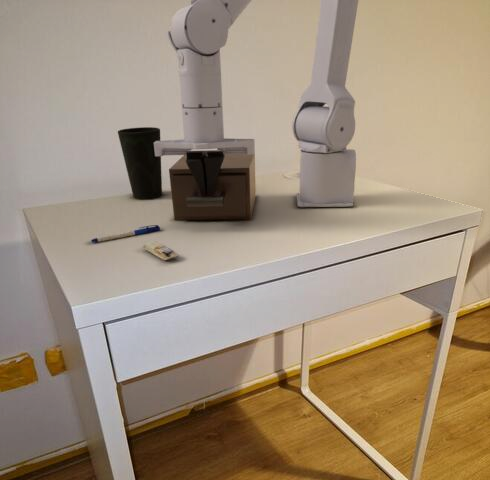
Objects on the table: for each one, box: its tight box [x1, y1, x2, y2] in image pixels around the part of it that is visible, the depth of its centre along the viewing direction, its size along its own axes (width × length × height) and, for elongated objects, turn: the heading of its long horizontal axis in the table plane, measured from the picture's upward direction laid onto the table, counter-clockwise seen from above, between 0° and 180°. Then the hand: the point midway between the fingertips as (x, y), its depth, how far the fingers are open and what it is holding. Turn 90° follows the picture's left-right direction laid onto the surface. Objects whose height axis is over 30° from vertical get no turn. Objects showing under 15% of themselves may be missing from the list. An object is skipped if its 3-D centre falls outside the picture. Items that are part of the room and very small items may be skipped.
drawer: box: [172, 173, 247, 217], centre depth 77 cm, size 18×11×6 cm, turn 176°
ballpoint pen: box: [91, 224, 161, 243], centre depth 70 cm, size 10×1×1 cm, turn 121°
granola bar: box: [141, 240, 179, 261], centre depth 63 cm, size 7×2×1 cm, turn 37°
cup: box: [117, 126, 163, 200], centre depth 88 cm, size 8×8×12 cm
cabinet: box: [168, 152, 257, 221], centre depth 80 cm, size 15×13×8 cm
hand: (208, 204), depth 72 cm, fingers closed, pressing on drawer
